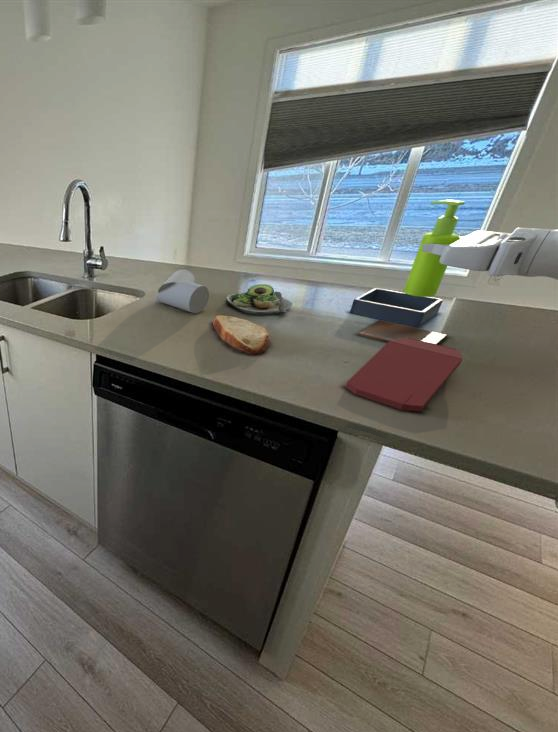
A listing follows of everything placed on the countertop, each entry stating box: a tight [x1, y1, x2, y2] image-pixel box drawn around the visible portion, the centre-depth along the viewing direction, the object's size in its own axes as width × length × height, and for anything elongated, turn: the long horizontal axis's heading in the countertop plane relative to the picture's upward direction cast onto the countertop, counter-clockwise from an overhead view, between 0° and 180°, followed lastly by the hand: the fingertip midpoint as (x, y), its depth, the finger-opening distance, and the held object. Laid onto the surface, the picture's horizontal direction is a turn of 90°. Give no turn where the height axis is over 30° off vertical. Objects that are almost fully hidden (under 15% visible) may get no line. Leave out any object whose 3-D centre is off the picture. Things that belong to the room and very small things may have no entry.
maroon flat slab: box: [345, 338, 463, 413], centre depth 82 cm, size 12×5×25 cm
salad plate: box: [225, 283, 294, 316], centre depth 122 cm, size 19×18×5 cm
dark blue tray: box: [349, 287, 444, 328], centre depth 110 cm, size 16×14×4 cm
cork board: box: [357, 319, 448, 345], centre depth 99 cm, size 14×12×1 cm
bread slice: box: [212, 314, 272, 355], centre depth 105 cm, size 18×18×4 cm
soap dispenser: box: [402, 199, 466, 297], centre depth 90 cm, size 6×7×20 cm
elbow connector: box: [155, 269, 210, 314], centre depth 130 cm, size 18×11×20 cm
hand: (429, 244), depth 90 cm, fingers closed on soap dispenser, 6 cm apart
